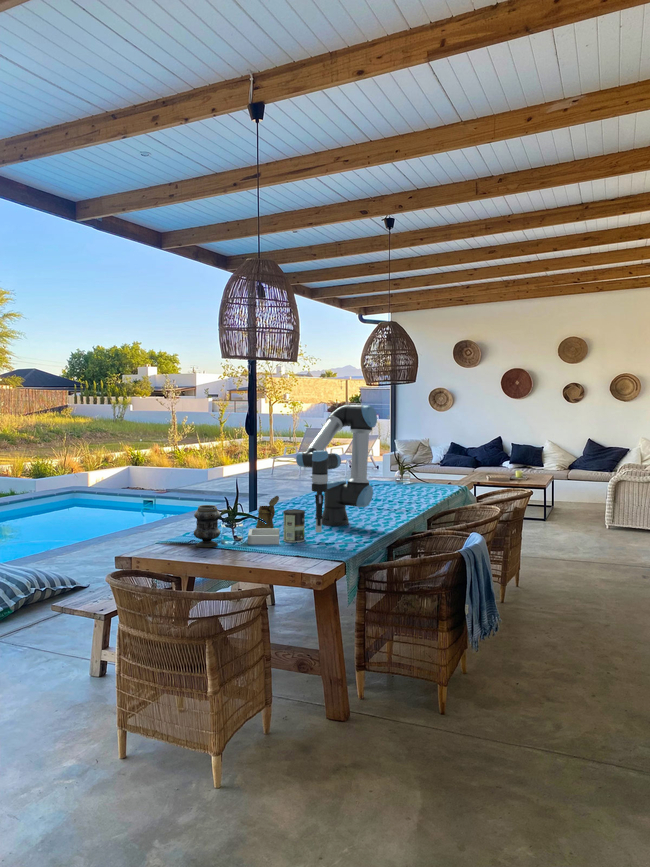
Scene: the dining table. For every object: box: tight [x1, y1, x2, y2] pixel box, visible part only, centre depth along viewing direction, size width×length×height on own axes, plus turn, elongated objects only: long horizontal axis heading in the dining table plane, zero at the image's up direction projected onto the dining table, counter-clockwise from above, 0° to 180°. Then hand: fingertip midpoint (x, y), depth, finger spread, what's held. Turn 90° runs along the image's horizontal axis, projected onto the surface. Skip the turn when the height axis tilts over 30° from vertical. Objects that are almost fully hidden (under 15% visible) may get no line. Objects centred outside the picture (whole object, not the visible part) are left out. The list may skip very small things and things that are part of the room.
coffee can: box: [282, 508, 306, 544], centre depth 295 cm, size 10×10×14 cm
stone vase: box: [193, 504, 221, 548], centre depth 283 cm, size 12×12×18 cm
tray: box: [247, 527, 280, 545], centre depth 295 cm, size 14×16×4 cm
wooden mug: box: [255, 495, 280, 529], centre depth 321 cm, size 9×14×18 cm, turn 50°
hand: (318, 532), depth 296 cm, fingers closed
